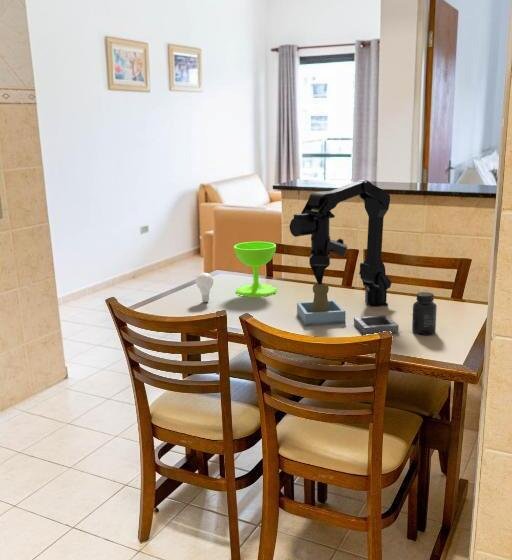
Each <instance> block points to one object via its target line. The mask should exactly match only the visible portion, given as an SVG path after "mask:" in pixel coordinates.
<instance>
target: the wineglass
mask: <svg viewBox="0 0 512 560" xmlns="http://www.w3.org/2000/svg"><path fill="white" fill-rule="evenodd" d="M233 249H234V250H233V251H234V254H235V255H236V257H237V259H238V260H239V261H240V262H241V263H242V264H244V265H245V266H249V267H252V272H253V282H252V284H247V285H246V284H245V285H243V286H242V285H241V286H240V287H238V288H237V289H236V290H235V294H236V293H237V294H239V295H243V296H249V297H248V298H262V297H261V296H266V297H269V296H268V295H271V296H273V295H272V294H274V293H275V294H277V293H278V290H277V288H276V287H274V285H271V284H270V285H269V284H261V283H260V282H259V267H262V266H265V265H267V264H268V263H269V262H271V260H272V259H273V257H274V255H275V253H276V250H277V244H276V243H273V242H269V241H246V242H241V243H236V244H235V245H234V246H233ZM276 292H277V293H276ZM237 294H236V295H237ZM275 294H274V295H275ZM239 295H238V296H239ZM243 296H242V297H243Z"/></svg>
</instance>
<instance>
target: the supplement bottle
mask: <svg viewBox="0 0 512 560" xmlns="http://www.w3.org/2000/svg"><path fill="white" fill-rule="evenodd" d="M437 310H438V308H437V304H436V303H435V300H434V293H431V292H429V291H421V292H420V291H419V292H417V293H416V301H415V302H414V303H413V305H412V317H411V318H412V320H411V321H412V323H411V331H412V333H413V334H415V335H417V336H424V337H425V336H427V337H428V336H433V335H434V334H436V330H437V329H436V328H437Z"/></svg>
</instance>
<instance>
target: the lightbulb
mask: <svg viewBox="0 0 512 560" xmlns="http://www.w3.org/2000/svg"><path fill="white" fill-rule="evenodd" d="M195 284H196V287H197V288H198V289H199V292H200V294H201V301H202V302H203V303H209V301H210V293H211V292H210V291H211V289H212V287H213V285H214V278H213V276H212V275H211V274H210V273H209V272H201V273H199V274H198V275H197V276H196V278H195Z"/></svg>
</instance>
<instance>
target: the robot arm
mask: <svg viewBox="0 0 512 560" xmlns="http://www.w3.org/2000/svg"><path fill="white" fill-rule="evenodd" d="M357 196H359V198H360V199H361V200H363V202H364V205H363V206H364V209H365V211H366V214H367V216H368V223H367V239H366V240H367V241H366V245H367V247H366V258H365V260H364V261H363V262H360V263H359V273H358V275H360V279H361V281H362V285H363V286H364V287H365V286H366V290H365V292H364V294H365V295H364V297H365V298H364V303H366V304H367V305H368V306H369V307H381V306H383V305H384V306H389V303H388V302H387V297H388V296H387V293H388V292H387V291H388V290H389V289H391V286H392V281H391V279H389V277H388V276H387V275H386V274H387V273H386V266H385V264H384V262H383V259H382V252H383V234H384V217H385V215H386V214H387V213H388V211H389V208H390V203H391V196H390V194H389V192H388V191H387V190H383V188H380V187H378V186H376V185H374V184H373V183H372V182H371V181H369V180H367V179H356V180H355V181H353V182H351V183H348V184H345V185H343V186H340V187H338V188H335V189H332V190H327V191H325V190H323V191H317V192H312V193H311V194H309V197H308V200H307V201H306V203H305V206H304V207H303V209H302V210H301V212H300V213H301V214H298V213H296V214H293V218H292V219H291V220H290V223H289V232H290V234H291V235H292V236H293V237H304V236H310V242H311V243H310V244H311V247H310V256H309V258H308V259H309V266H310V268H311V270H312V273H313V275H314V279H315V280H316V283H318V284H322V283H323V280H324V273H325V270H326V269H327V268H329V266H330V265H331V253H332V254H335V255H338V256H339V257H343V258H344V257H345V255H346V252H347V250H348V245H347V244H346V243H345V242H344V239H342V238H340V237H339V238H337V240H332V239H331V235H330V219H332V218H334V219H335V217H336V216H335V214H334V213H333V212H332V210H333V209H335V208H336V207H337V205H338V204H339V203H341V202H345V201H347V200H350V199H352V198H355V197H357Z"/></svg>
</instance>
